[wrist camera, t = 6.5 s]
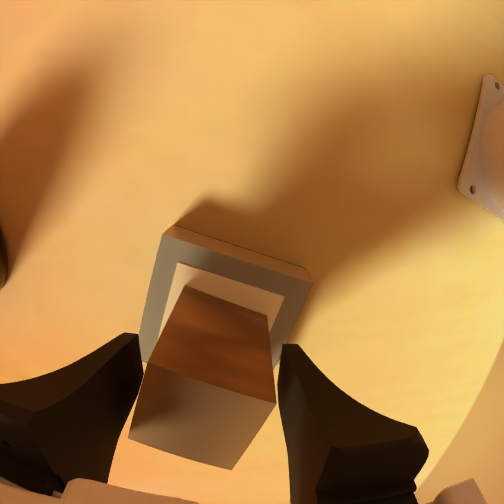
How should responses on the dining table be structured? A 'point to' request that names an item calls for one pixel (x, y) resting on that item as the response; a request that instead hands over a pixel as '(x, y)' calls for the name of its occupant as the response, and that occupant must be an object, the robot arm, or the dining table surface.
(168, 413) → the walnut block
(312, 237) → the dining table surface
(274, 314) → the base tile
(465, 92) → the dining table surface
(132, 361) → the robot arm
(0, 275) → the supplement bottle
